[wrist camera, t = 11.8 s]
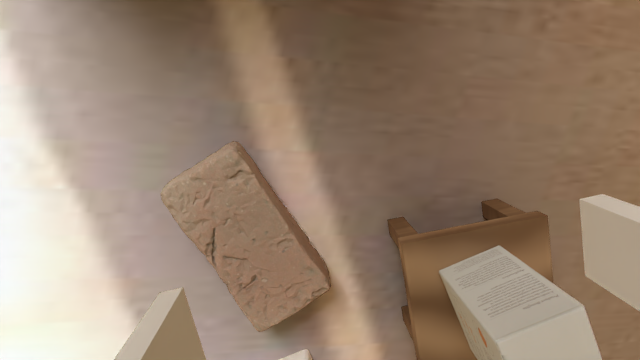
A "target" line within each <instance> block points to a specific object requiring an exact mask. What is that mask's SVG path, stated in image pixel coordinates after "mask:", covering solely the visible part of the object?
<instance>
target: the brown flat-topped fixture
mask: <svg viewBox="0 0 640 360" xmlns="http://www.w3.org/2000/svg"><path fill="white" fill-rule="evenodd" d="M482 211H483V217H484V218H486V219H487V220H488V221H482V222H477V223H472V224H467V225H462V226H456V227H451V228H446V229H441V230H436V231H430V232H425V233H420V234H418V233H417V232H416V231H415V230H414V229H413V227H412V226H411V225H410V224H409V223H408V222H407V221H406V220H405V218H404V217H399V218H394V219H389V220H387V221H388V227H389V233H390V236H391V237H392V239H393V240H394V242H395V243H396V245H397V246H398V248H399V250H400V256H401V262H402V269H403V275H404V281H405V288H406V294H407V300H408V306H403V307H402V314H403V320H404V322H405V325H406V327H407V329H408V331H409V333H410V335H411V338H412V340H413V342H414V345H415V351H416V357H417V360H477V358H476V357H475V355H474V354H473V352H472V351H471V349H470V347H469V344H468V341H467V339H466V336H465V334H464V331H463V329H462V327H461V324H460V322H459V319H458V317H457V315H456V312H455V310H454V307H453V305H452V302H451V300H450V298H449V295H448V293H447V290H446V288H445V285H444V283H443V281H442V278H441V276H440V274H439V271H440V270H441V269H444V268H446V267H449V266H451V265H453V264H456V263H458V262H460V261H463V260H465V259H467V258H470V257H472V256H475V255H477V254H479V253H482V252H484V251H487V250H489V249H491V248H494V247H496V246H501V247H503V248H504V249H505V250H507V251H508V252H510V253H511V254H513V255H514V256H515V257H517V258H518V259H520V260H521V261H522V262H524V263H525V264H527V265H528V266H529V267H531V268H532V269H534V270H535V271H536V272H538V273H539V274H541V275H542V276H544V277H545V278H546V279H548V280H549V281H551V282H552V283H553V274H552V262H551V250H550V238H549V226H548V216H547V215H545V214H543V213H541V212H538V211H534V212H529V213H525V212H523V211H521V210H519V209H517V208H515V207H513V206H511V205H509V204H507V203H505V202H503V201H501V200H499V199H493V200H488V201H482Z"/></svg>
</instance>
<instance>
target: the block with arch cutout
mask: <svg viewBox="0 0 640 360" xmlns="http://www.w3.org/2000/svg"><path fill="white" fill-rule="evenodd" d="M279 360H313V359H312V357H311V354H310V352H309V350H307V349H304V350H302V351H299V352H297V353H294V354H291V355H289V356H286V357H284V358H281V359H279Z"/></svg>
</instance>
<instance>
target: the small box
mask: <svg viewBox="0 0 640 360" xmlns="http://www.w3.org/2000/svg"><path fill="white" fill-rule="evenodd" d="M439 274H440V276H441V278H442V281H443V283H444V285H445V288H446V290H447V293H448V295H449V298H450V300H451V302H452V305H453V307H454V310H455V312H456V315H457V317H458V319H459V322H460V324H461V327H462V329H463V331H464V334H465V336H466V339H467V341H468V344H469V347H470V349H471V351H472V352H473V354H474V355H475V357H476V358H477V360H603V358H602V355H601V353H600V350H599V347H598V344H597V341H596V338H595V335H594V332H593V329H592V326H591V323H590V320H589V318H588V315H587V312H586V308H585V306H584V305H583V304H582V303H580V302H579V301H577V300H576V299H574V298H573V297H572V296H570V295H569V294H567V293H566V292H565V291H563V290H562V289H560V288H559V287H558V286H556V285H555V284H553V283H552V282H551V281H549V280H548V279H546V278H545V277H544V276H542V275H541V274H539V273H538V272H536V271H535V270H534V269H532V268H531V267H529V266H528V265H527V264H525V263H524V262H522V261H521V260H520V259H518V258H517V257H515V256H514V255H513V254H511V253H510V252H508V251H507V250H505V249H504V248H503V247H501V246H496V247H494V248H491V249H489V250H487V251H484V252H482V253H479V254H477V255H475V256H472V257H470V258H467V259H465V260H463V261H460V262H458V263H456V264H453V265H451V266H449V267H446V268H444V269H441V270H440V271H439Z"/></svg>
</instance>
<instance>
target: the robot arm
mask: <svg viewBox="0 0 640 360" xmlns="http://www.w3.org/2000/svg"><path fill="white" fill-rule="evenodd" d="M579 200H580V213H581V227H582V241H583V254H584V268H585V276H586V277H588V278H589V279H591V280H592V281H594V282H595V283H597V284H598V285H600V286H602V287H603V288H605V289H606V290H608V291H609V292H611V293H612V294H614V295H615V296H617V297H618V298H620V299H621V300H623V301H624V302H626V303H628V304H629V305H631V306H632V307H634V308H635V309H637V310H638V311H640V207H639V206H636V205H633V204H630V203H627V202H624V201H621V200H619V199H616V198H613V197H610V196H607V195H604V194H600V195H596V196H591V197H587V198H582V199H579ZM114 360H206V358H205V355H204V351H203V348H202V345H201V342H200V339H199V336H198V333H197V330H196V326H195V323H194V320H193V317H192V314H191V311H190V308H189V305H188V301H187V298H186V295H185V292H184V289H183V287H182V288H178V289H173V290H169V291H164V292H160V293H159V294H158V296H157V297H156V299H155V300H154V302H153V303H152V305H151V306H150V308H149V309H148V311H147V312H146V313H145V315H144V316H143V318H142V319H141V321H140V322H139V324H138V325H137V327H136V328H135V330H134V331H133V333H132V334H131V335H130V337H129V338H128V340H127V341H126V343H125V344H124V346H123V347H122V349H121V350H120V352H119V353H118V354H117V356H116V357H115V359H114Z"/></svg>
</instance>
